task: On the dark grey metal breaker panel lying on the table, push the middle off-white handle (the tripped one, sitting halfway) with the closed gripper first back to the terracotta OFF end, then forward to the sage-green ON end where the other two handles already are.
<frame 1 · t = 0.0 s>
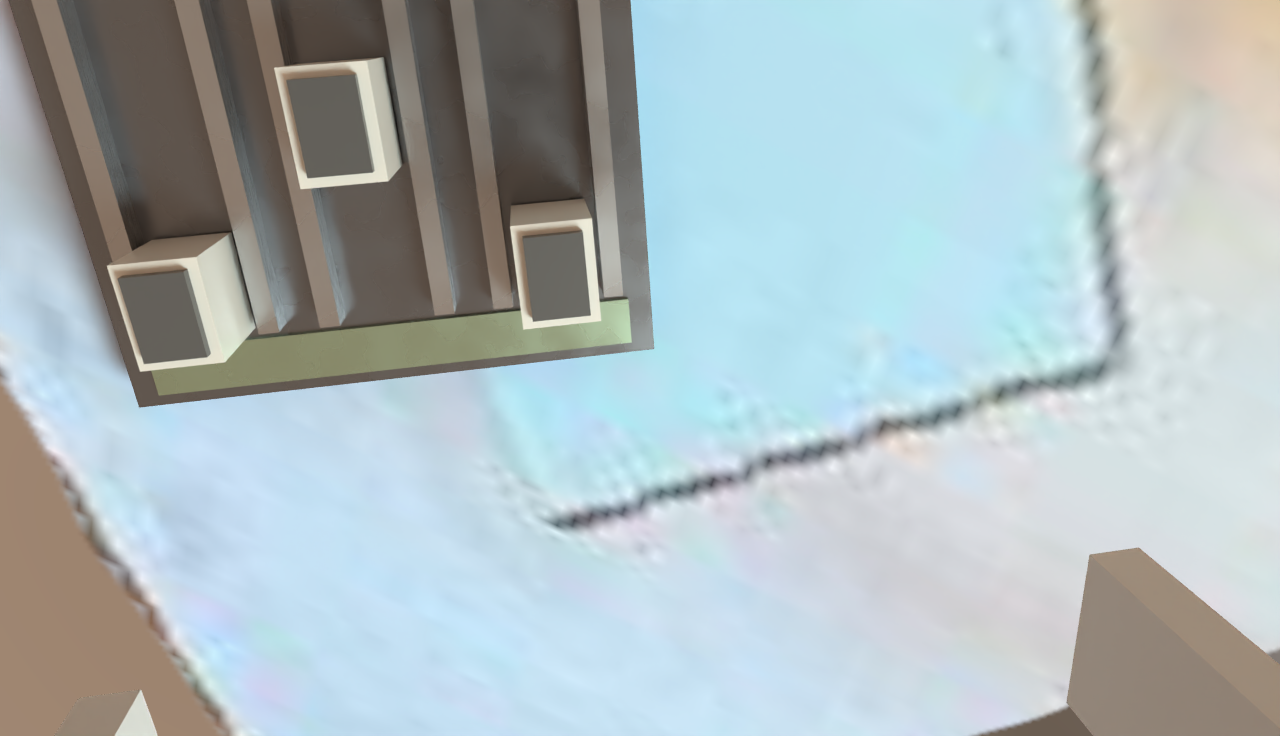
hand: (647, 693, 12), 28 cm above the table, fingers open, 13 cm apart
breaker c: (555, 262, 34), point 4 cm above the table, slide at 10.0 cm
breaker a: (185, 300, 32), point 4 cm above the table, slide at 10.0 cm
panel: (367, 135, 35), on the table
breaker b: (342, 121, 31), point 4 cm above the table, slide at 4.0 cm
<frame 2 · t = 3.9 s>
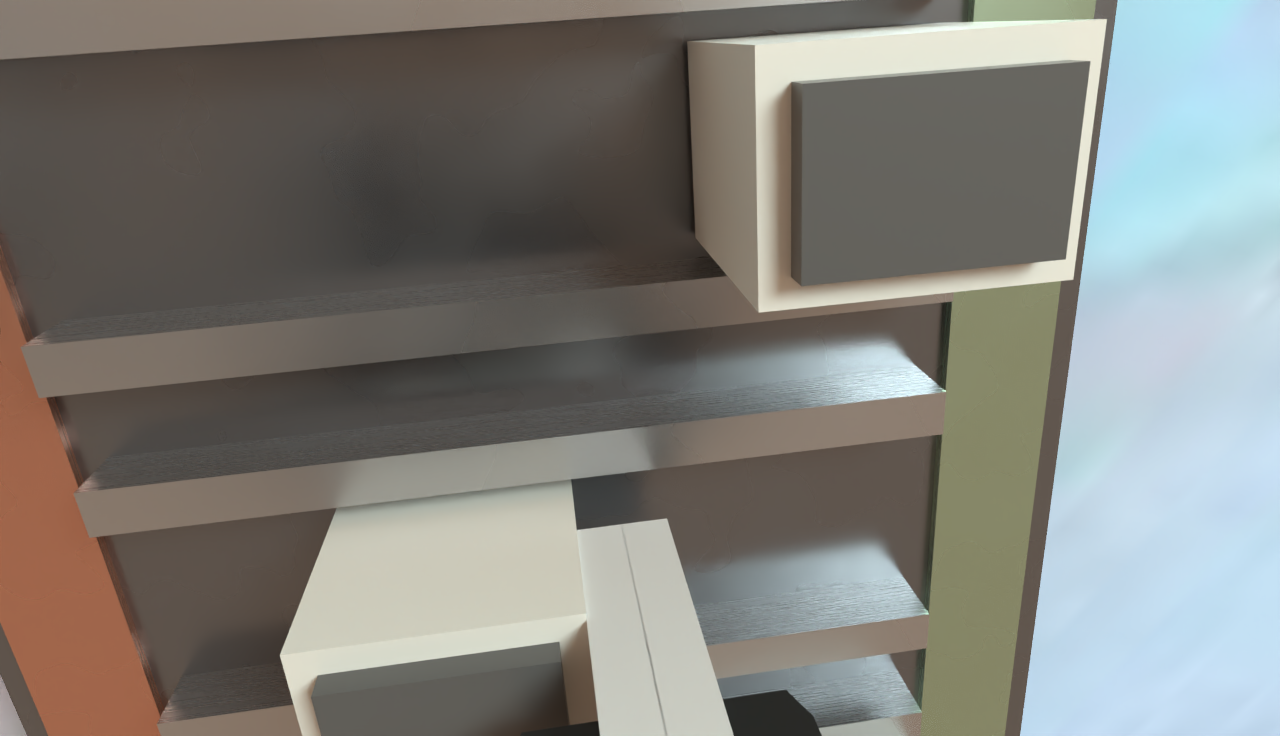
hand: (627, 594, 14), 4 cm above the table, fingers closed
breaker c: (867, 151, 11), point 4 cm above the table, slide at 10.0 cm
panel: (544, 488, 18), on the table
breaker b: (460, 636, 13), point 4 cm above the table, slide at 3.6 cm, touching gripper
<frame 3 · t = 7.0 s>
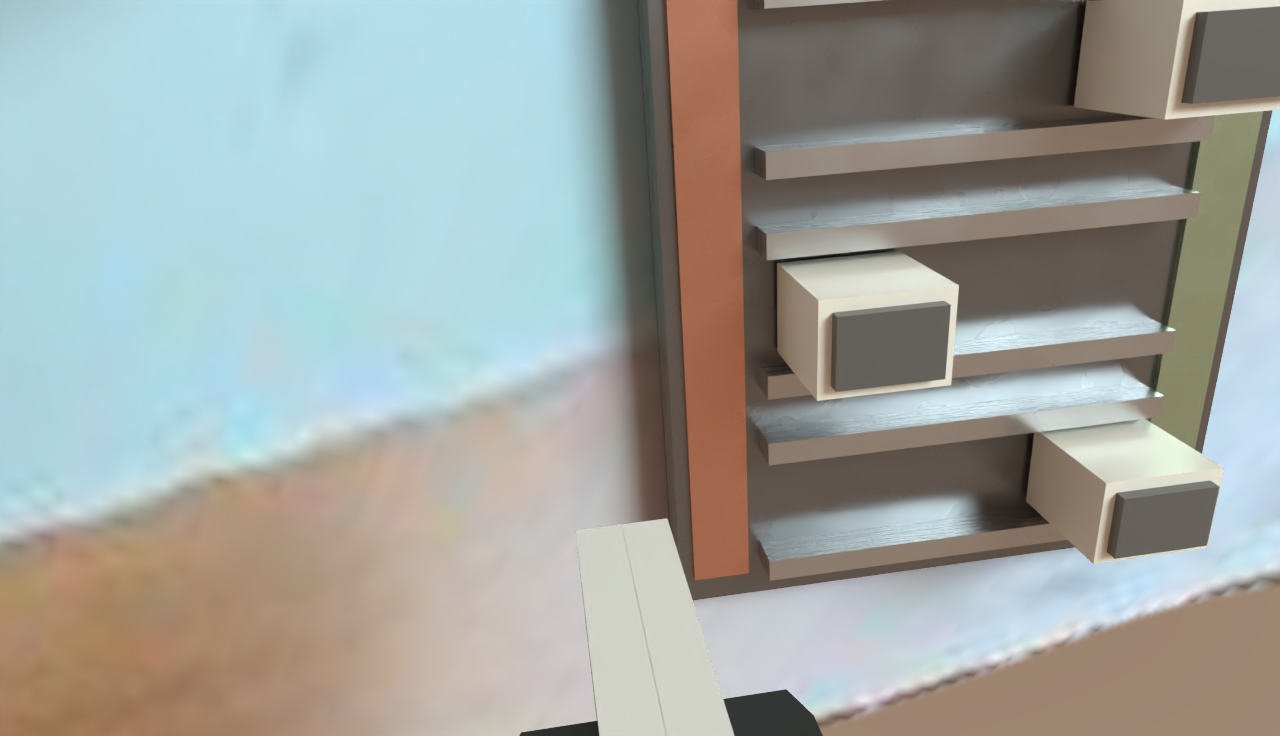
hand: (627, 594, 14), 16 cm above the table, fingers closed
breaker c: (1194, 52, 24), point 4 cm above the table, slide at 10.0 cm
breaker a: (1121, 488, 29), point 4 cm above the table, slide at 10.0 cm
panel: (936, 271, 30), on the table
breaker b: (862, 323, 26), point 4 cm above the table, slide at 0.6 cm
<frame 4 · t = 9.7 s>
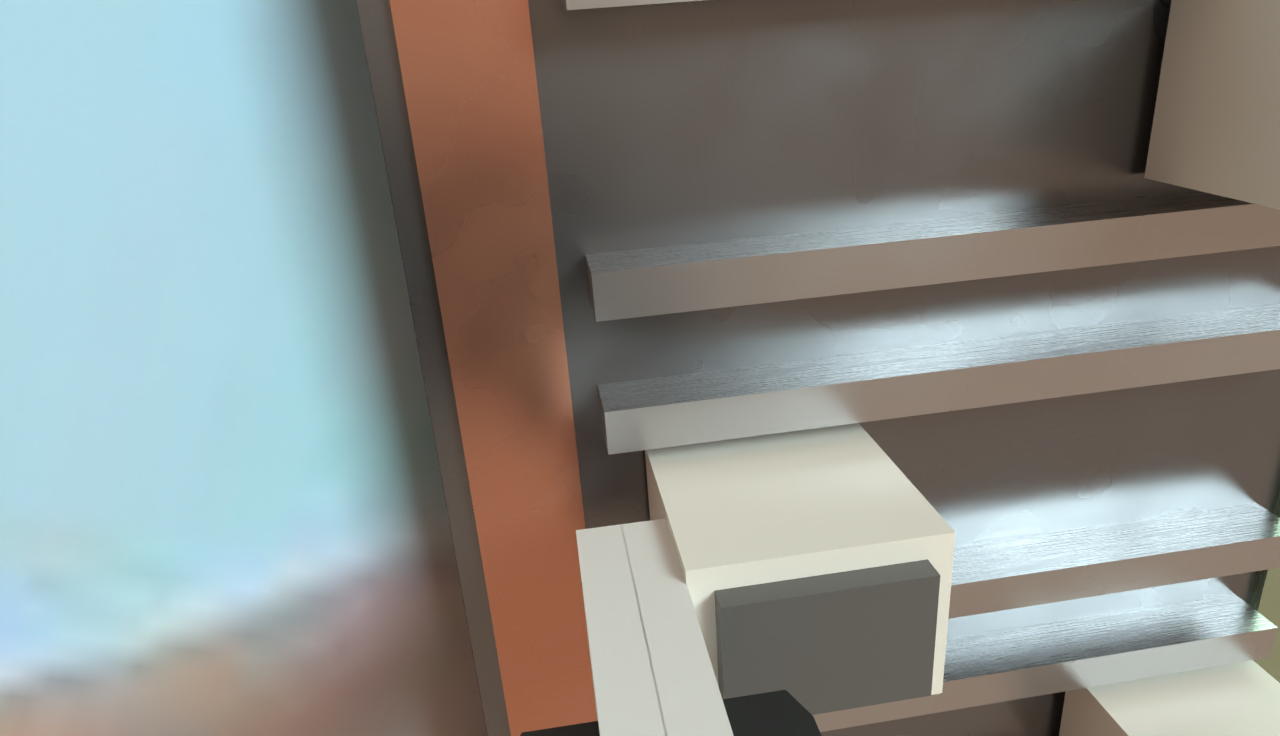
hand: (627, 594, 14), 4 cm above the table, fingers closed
panel: (912, 424, 19), on the table
breaker b: (785, 566, 14), point 4 cm above the table, slide at 0.8 cm, touching gripper
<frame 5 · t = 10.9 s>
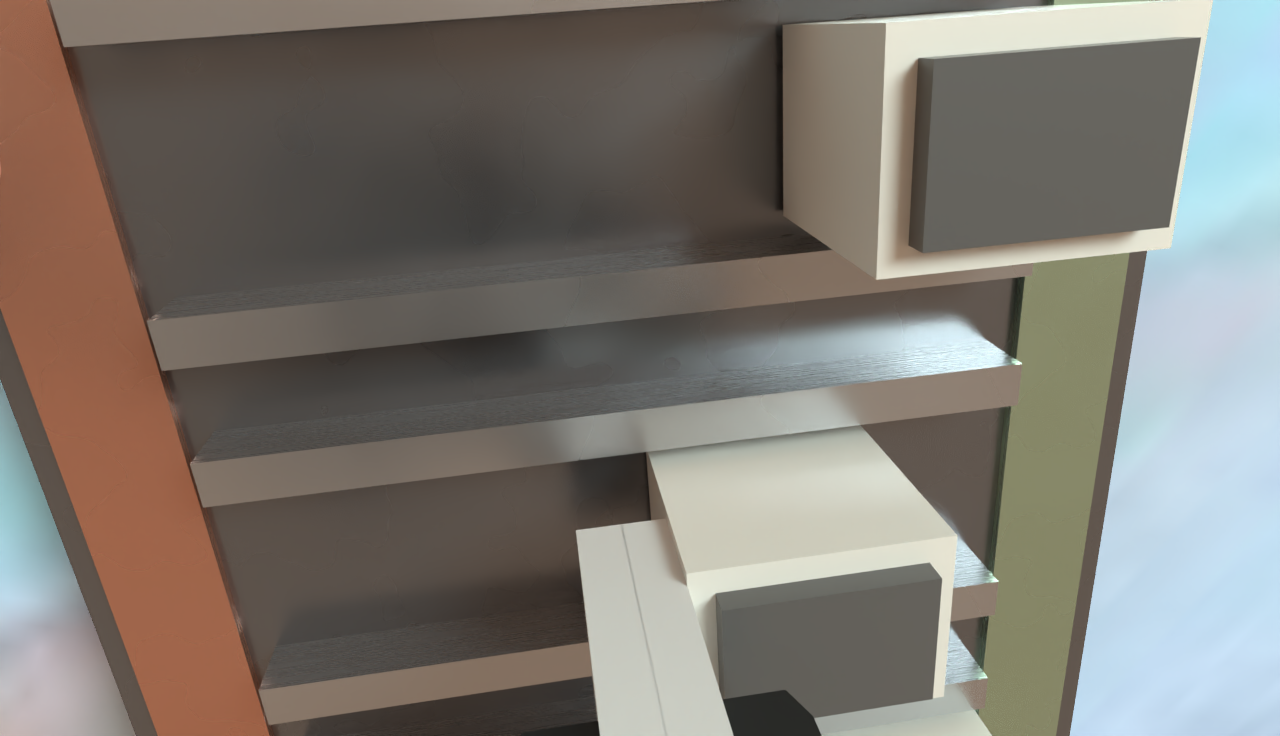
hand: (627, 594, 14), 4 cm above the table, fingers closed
breaker c: (966, 128, 12), point 4 cm above the table, slide at 10.0 cm
panel: (617, 464, 18), on the table
breaker b: (787, 568, 14), point 4 cm above the table, slide at 7.4 cm, touching gripper
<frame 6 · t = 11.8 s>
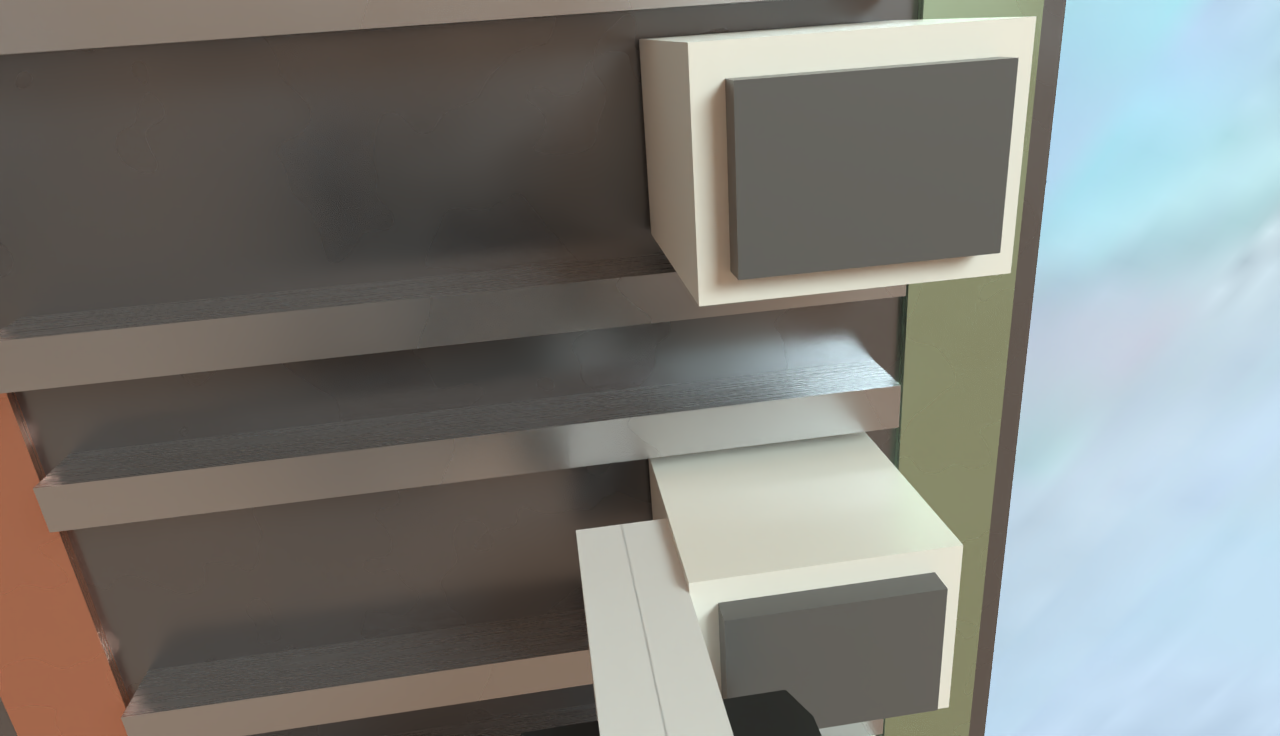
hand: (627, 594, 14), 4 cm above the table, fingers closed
breaker c: (812, 147, 12), point 4 cm above the table, slide at 10.0 cm
panel: (510, 483, 18), on the table
breaker b: (790, 576, 14), point 4 cm above the table, slide at 9.7 cm, touching gripper
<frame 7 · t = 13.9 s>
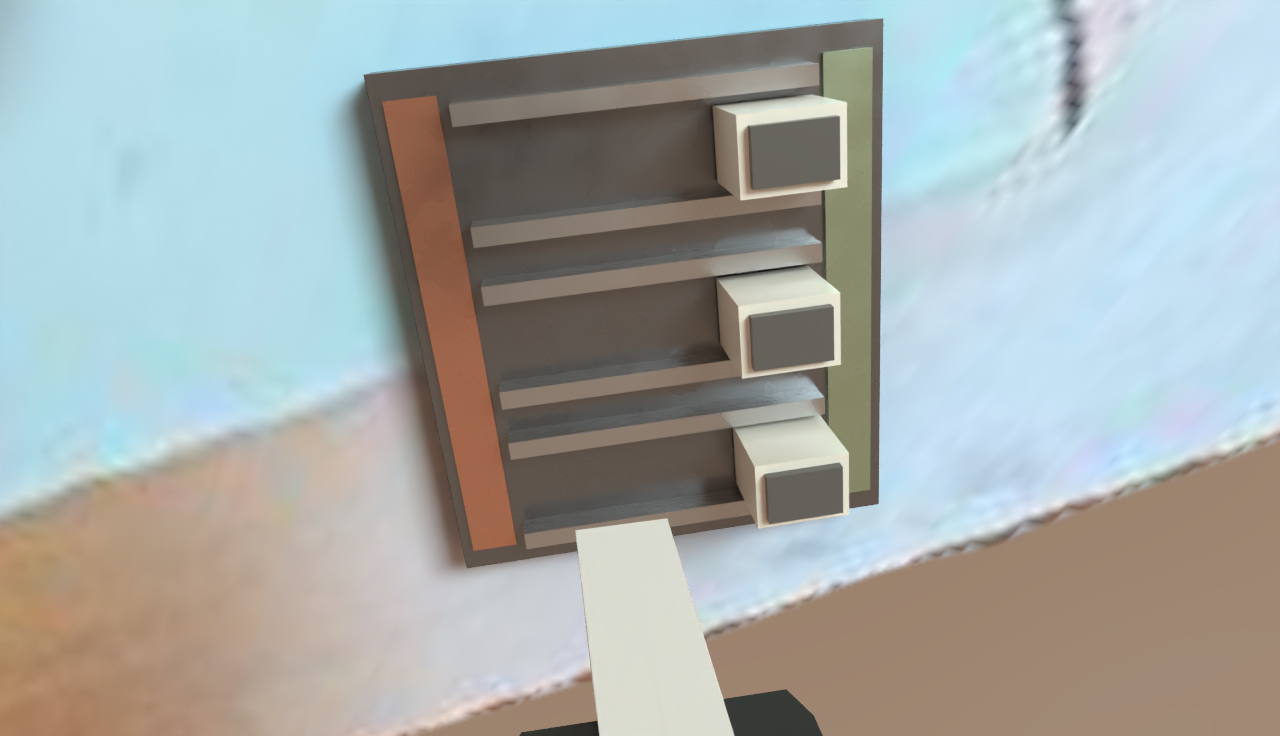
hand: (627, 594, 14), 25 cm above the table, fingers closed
breaker c: (779, 145, 32), point 4 cm above the table, slide at 10.0 cm
breaker a: (790, 470, 37), point 4 cm above the table, slide at 10.0 cm
panel: (649, 304, 38), on the table
breaker b: (777, 321, 35), point 4 cm above the table, slide at 9.7 cm
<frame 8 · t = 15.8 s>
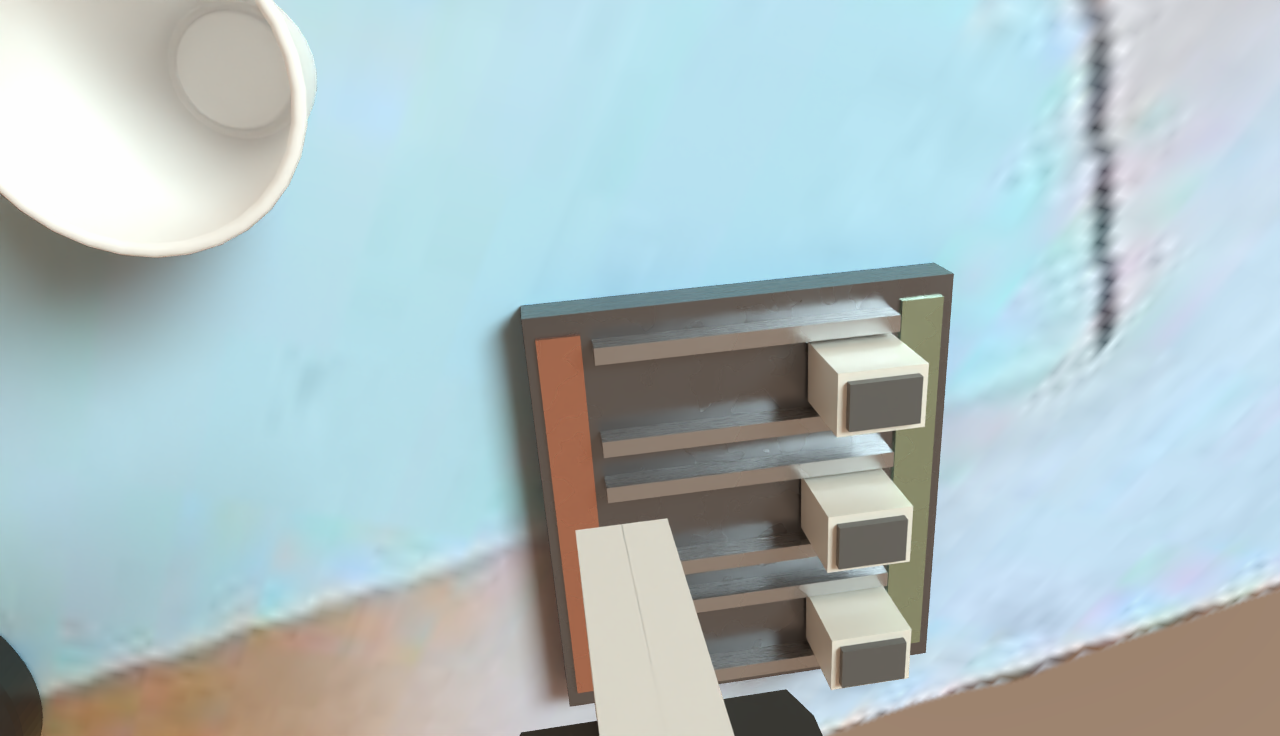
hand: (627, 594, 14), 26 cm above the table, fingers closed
breaker c: (866, 384, 38), point 4 cm above the table, slide at 10.0 cm
breaker a: (857, 636, 44), point 4 cm above the table, slide at 10.0 cm
panel: (738, 486, 45), on the table
breaker b: (855, 519, 41), point 4 cm above the table, slide at 9.7 cm
cup: (240, 71, 34), on the table
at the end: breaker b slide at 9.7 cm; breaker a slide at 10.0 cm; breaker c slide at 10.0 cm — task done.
